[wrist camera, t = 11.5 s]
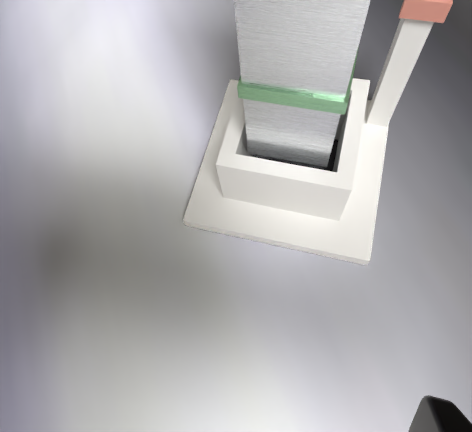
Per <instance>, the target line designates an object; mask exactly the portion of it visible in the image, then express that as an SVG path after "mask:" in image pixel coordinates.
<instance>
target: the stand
mask: <svg viewBox="0 0 472 432" xmlns="http://www.w3.org/2000/svg"><path fill="white" fill-rule="evenodd" d="M452 3H453V0H404V2H403V5H402V7H401V10H400V14H399V18H401V19H400V22H399V25H398V28H397V31H396V33H395V36H394V39H393V42H392V45H391V47H390V50H389V53H388V56H387V59H386V62H385V64H384V67H383V70H382V73H381V76H380V78H379V81H378V84H377V87H376V90H375V92H374V95H373V98H372V101H371V100H367V97H368V91H369V85H370V80H363V79H356V78H353V79H352V85H351V90H350V95H349V100H348V105H347V109H346V112H345V115H343V114H341V115H340V119H339V123H338V126H337V130H336V134H335V138H334V139H338V146H337V151H336V156H335V161H334V167H333V172H332V171H326V170H321V169H315V168H310V167H305V166H299V165H294V164H288V163H283V162H277V161H272V160H266V159H261V158H255V157H252V155H253V154H250V153H248V146H247V135H246V125H245V114H244V103H243V99H242V98H238V90H237V85H238V82H239V81H237V80H231V79H230V81H229V84H228V87H227V90H226V93H225V96H224V99H223V102H222V105H221V108H220V111H219V114H218V117H217V120H216V123H215V126H214V129H213V132H212V135H211V138H210V141H209V143H208V146H207V149H206V152H205V155H204V158H203V161H202V164H201V167H200V170H199V173H198V176H197V179H196V182H195V185H194V188H193V191H192V194H191V197H190V200H189V203H188V206H187V209H186V212H185V215H184V218H183V222H184V224H185V226H189V227H193V228H198V229H203V230H207V231H212V232H216V233H221V234H225V235H230V236H234V237H239V238H244V239H248V240H253V241H257V242H262V243H266V244H271V245H275V246H280V247H284V248H289V249H294V250H298V251H303V252H307V253H312V254H316V255H321V256H325V257H330V258H334V259H339V260H344V261H348V262H353V263H357V264H362V265H367V264H368V263H369V262H370V257H371V250H372V242H373V235H374V228H375V221H376V213H377V206H378V199H379V192H380V184H381V177H382V170H383V163H384V155H385V148H386V141H387V134H388V126H389V121H390V119H391V116H392V114H393V112H394V110H395V107H396V105H397V103H398V101H399V99H400V96H401V94H402V92H403V90H404V87H405V85H406V83H407V81H408V79H409V76H410V74H411V72H412V70H413V68H414V65H415V63H416V61H417V59H418V56H419V54H420V52H421V50H422V48H423V45H424V43H425V41H426V39H427V36H428V34H429V32H430V30H431V28H432V25H433V23H434V22H440V23H444V20H445V18H446V16H447V14H448V12H449V10H450V8H451V6H452Z"/></svg>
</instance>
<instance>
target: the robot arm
mask: <svg viewBox="0 0 472 432" xmlns="http://www.w3.org/2000/svg"><path fill="white" fill-rule="evenodd" d="M409 432H472V424H471V423H470V421H469V420H468V419H467V418H466V417H465V416H464V415H463V413H462V412H461V411H460V410H459V409H458V408H457V407H456V406H455V405H454V404H453V403H452V402H450V401H448V400H444V399H441V398H437V397H433V396H425V397H424V398H423V399H422V400H421V402H420V404H419V407H418V409H417V412H416V414H415V416H414V419H413V421H412V423H411V426H410V428H409Z"/></svg>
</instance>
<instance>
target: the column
mask: <svg viewBox="0 0 472 432" xmlns="http://www.w3.org/2000/svg"><path fill="white" fill-rule="evenodd" d="M369 4H370V0H234V6H235V17H236V28H237V38H238V49H239V60H240V71H241V76H240V79H239V82H238V85H237V90H238V98H242V99H243V103H244V114H245V125H246V135H247V146H248V153H250V154H256V155H261V156H267V157H272V158H278V159H283V160H289V161H294V162H300V163H305V164H311V165H317V166H322V167H327V165H328V161H329V157H330V153H331V149H332V146H333V142H334V138H335V134H336V130H337V126H338V123H339V119H340V115H341V114H343V115H345V112H346V109H347V105H348V100H349V95H350V90H351V85H352V79H353V74H354V69H355V63H356V58H357V53H358V48H359V42H360V38H361V34H362V30H363V27H364V23H365V19H366V15H367V11H368V7H369Z"/></svg>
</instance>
